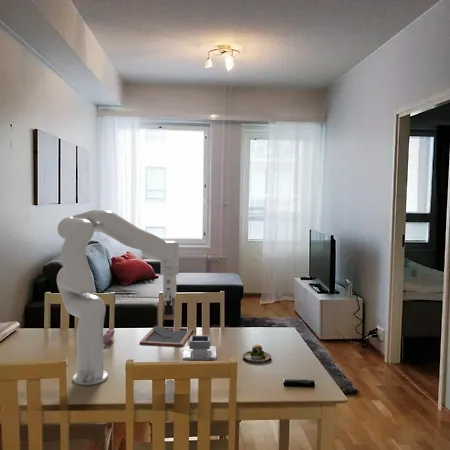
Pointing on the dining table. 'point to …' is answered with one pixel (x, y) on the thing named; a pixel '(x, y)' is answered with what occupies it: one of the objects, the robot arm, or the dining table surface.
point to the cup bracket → (199, 349)
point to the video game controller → (108, 336)
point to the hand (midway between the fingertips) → (169, 312)
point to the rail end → (171, 317)
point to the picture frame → (166, 337)
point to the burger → (256, 354)
